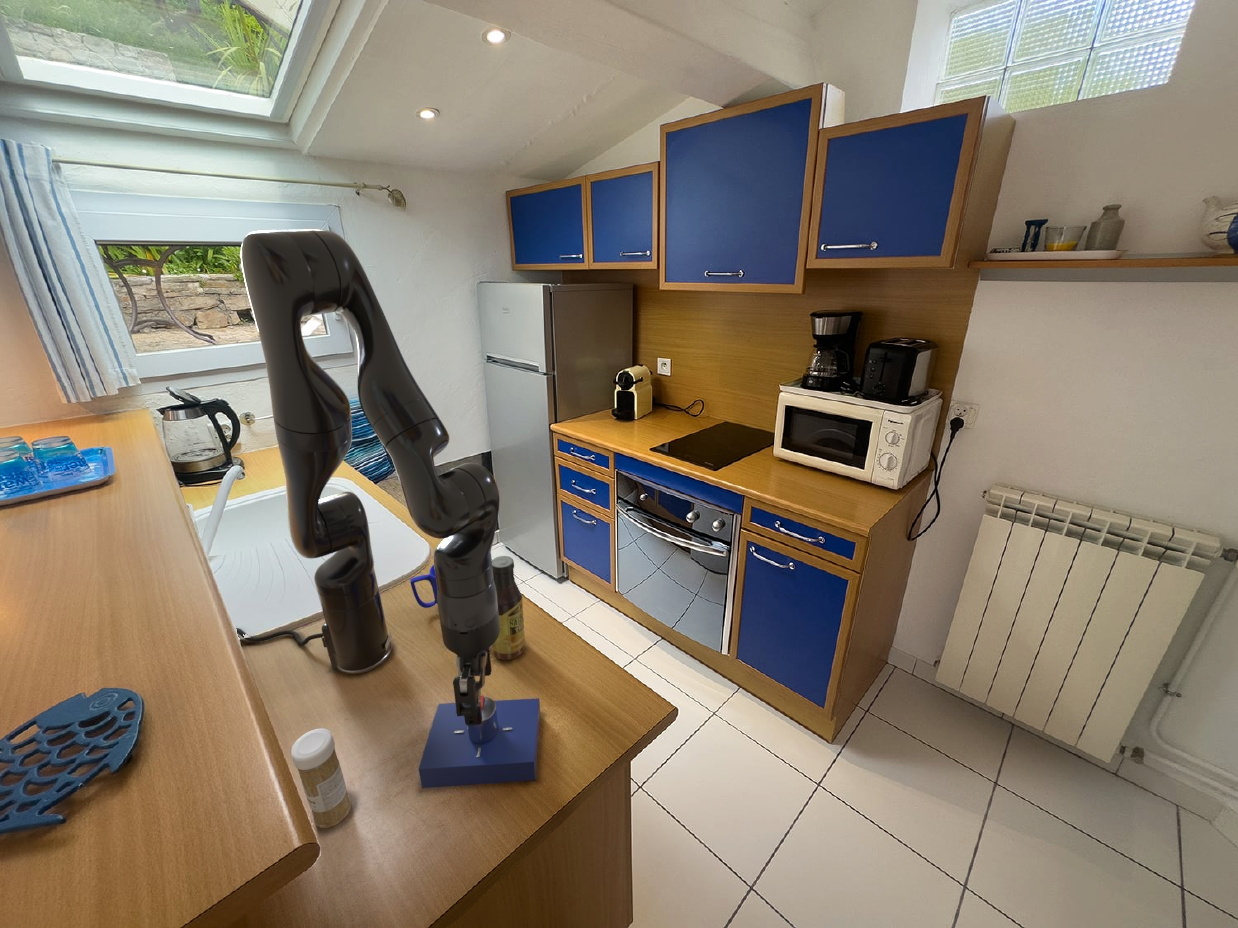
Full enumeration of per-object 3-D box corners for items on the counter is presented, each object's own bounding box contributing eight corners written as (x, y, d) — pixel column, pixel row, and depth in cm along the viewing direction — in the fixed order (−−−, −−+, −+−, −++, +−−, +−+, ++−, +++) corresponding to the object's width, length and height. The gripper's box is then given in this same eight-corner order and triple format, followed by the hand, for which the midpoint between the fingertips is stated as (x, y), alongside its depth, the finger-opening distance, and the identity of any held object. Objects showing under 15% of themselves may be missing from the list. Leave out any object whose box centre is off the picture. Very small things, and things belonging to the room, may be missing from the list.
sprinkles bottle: (308, 813, 67) (284, 744, 61) (343, 788, 70) (323, 720, 65) (322, 837, 64) (298, 766, 59) (358, 810, 67) (338, 740, 62)
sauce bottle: (518, 664, 92) (510, 575, 84) (486, 659, 93) (476, 570, 85) (530, 640, 98) (524, 554, 90) (501, 635, 99) (492, 550, 91)
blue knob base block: (422, 788, 70) (417, 768, 68) (441, 721, 80) (438, 702, 79) (535, 780, 71) (533, 760, 70) (540, 715, 81) (539, 697, 80)
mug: (415, 604, 107) (408, 565, 103) (472, 590, 112) (467, 553, 108) (417, 628, 100) (410, 587, 96) (478, 613, 105) (473, 573, 101)
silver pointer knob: (497, 741, 73) (494, 718, 71) (466, 745, 72) (462, 721, 70) (499, 716, 77) (496, 693, 75) (470, 719, 76) (467, 696, 74)
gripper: (452, 577, 72) (463, 661, 78) (425, 649, 59) (441, 743, 65) (504, 575, 72) (511, 659, 79) (489, 646, 59) (498, 740, 66)
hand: (479, 697), depth 72 cm, fingers open, 8 cm apart
